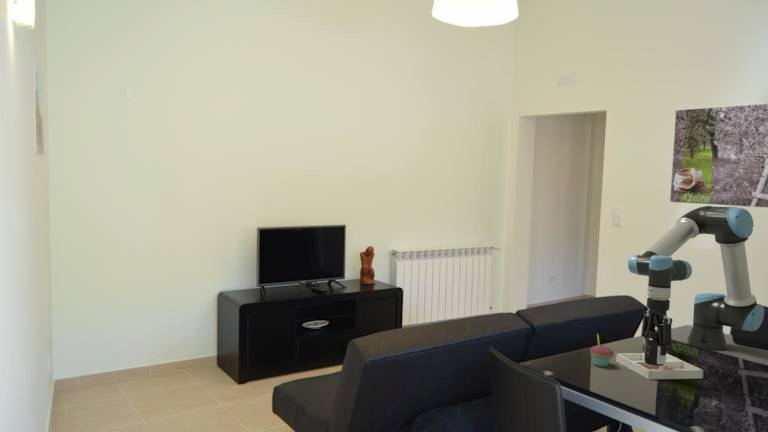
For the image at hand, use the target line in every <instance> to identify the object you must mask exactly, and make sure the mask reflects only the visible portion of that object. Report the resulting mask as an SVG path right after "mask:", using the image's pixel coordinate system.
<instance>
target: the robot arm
mask: <svg viewBox="0 0 768 432" xmlns="http://www.w3.org/2000/svg"><path fill="white" fill-rule="evenodd" d="M753 231H754V219H753V216H752V214H751V213H750V211H749V210H747V209H746V208H744V207H737V206H713V205H706V206H705V205H704V206H701V207H697V208H695V209H692V210H690V211H688V212H687V213H685V214H684V215H682V216H681V217H680V218H678V219H677V220H676V222H675V225H674V226H673V227H672V228H671V229H669V230H668V231H667V232H666V233H665V234H664V235H663V236H661V237H660V239H658V240H657V241H656V242H655V243H654V244H653V245H651V246H650V247H649V248H648V249H647V250H645V252H644V253H642V254H633V255H631V256H630V257H629V258H628V261H627V267H628V271H629V272H630V273H631V274H635V275H638V276H644V277H648V282H647V283H648V284H647V297H648V298H646V308H647V309H648V310H643V319H642V326H641V332H640V333H641V334H640V336H641V337H642V338H643V337H644V339H645V340H646V338H647V337H649V330H650V329H657V330H658V336H659V343H660V345H658V354H657V364H665V356H666V353H667V347H671V346H672V323H673V318H671V317H668V315H667V311H670V306H671V305H670V303H671V300H670V299H671V291H672V282H676V281H678V282H679V281H680V282H681V281H685V280H688V279H689V278H690V277H691V276H692V273H693V268H692V265H691V264H690V263H689V262H688V261H687V260H684V259H677V260H676V259H673V258H672V255H674V254H675V253H676V252H677V251H678V250H680V248H681V247H682V246H684V245H685V244H686V243H687V242H688V241H689V240H690V239H693V238H696V237H697V236H700V235H713V236H714V241H715V242H716V243H717V244H718V245H719V246H720V253H721V259H722V267H723V273H724V279H725V280H724V281H725V282H724V283H725V287H726V295H725V294H724V293H714V292H713V293H711V292H710V293H708V292H707V293H698V294H696V295H695V296H694V303H693V319H692V326H691V329H690V332H689V334H688V335H689V336H688V337H687V340H686V341H687V344H688V345H690V346H692V347H695V348H699V349H702V350H711V351H725V350H727V345H728V344H727V341H726V337H725V333H724V327H729V328H734V329H739V330H742V331H749V332H755V331H757V330H758V329H760V326H761V325H762V323H763V320H764V317H765V307H764V306H763V305H762V304H759V303H758V302H757V297H756V296H755V295H754V294H752V291H751V290H752V288H751V283H750V282H751V281H750V273H749V267H748V258H747V252H746V245H745V243H746V242H747V241H748V240H749V237H751V235H752V233H753Z"/></svg>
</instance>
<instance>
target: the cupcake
mask: <svg viewBox="0 0 768 432" xmlns="http://www.w3.org/2000/svg"><path fill="white" fill-rule="evenodd" d="M596 333H597V334H596V337H597V339H596V340H597V345H595V346H593V347H591V348H590V349H589V354H590V355H591V356H592V358H593V360H592V361H593V362H594V365H596V366H599V367H608V365H609V362H610V360H611V359H613V358H614V355H615V354H614V351H613V350H612V349H611V348H610V347H608V346H605V345H600V344H601V342H600V336H599V333H598V332H596Z"/></svg>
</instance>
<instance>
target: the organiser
mask: <svg viewBox="0 0 768 432" xmlns="http://www.w3.org/2000/svg"><path fill="white" fill-rule="evenodd" d="M644 354H645V353H644V352H640V353H638V352H637V353H636V352H635V353H629V352H628V353H615V362H616V363H619V364H620V365H622V366H624V367H625V366H626V368H627V367H628V368H627V369H629V370H632V371H633V372H634V373H637V374H638V375H640V376H642V377H644V378H645V379H648V380H685V379H686V380H687V379H688V380H689V379H694V380H695V379H704V372H705V371H704V369H702V368H700V367H697V366H696V365H693V364H691V363H689V362H686V361H684V360H682V359H680V358H678V357H675V356H673V355H671V354H668V353H667V352H666V356H665V364H664V365H662V366H655V365H650V364H647V363H645V361H644Z"/></svg>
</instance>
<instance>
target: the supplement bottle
mask: <svg viewBox="0 0 768 432" xmlns="http://www.w3.org/2000/svg"><path fill="white" fill-rule="evenodd" d="M656 329H657V328H655V329H650V330H649V337H647V338H646V340H645V354H644V361H645V363H647V364H650V365H655V366H662V365H664V364H657V354H658V345H660V343H659V336H658V329H657V330H656Z"/></svg>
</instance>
